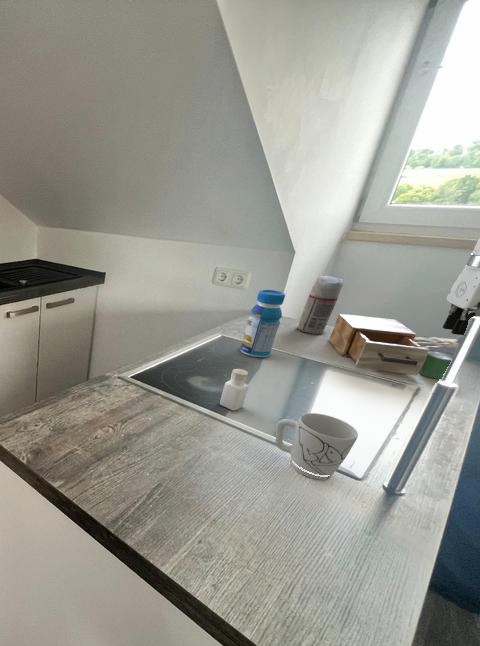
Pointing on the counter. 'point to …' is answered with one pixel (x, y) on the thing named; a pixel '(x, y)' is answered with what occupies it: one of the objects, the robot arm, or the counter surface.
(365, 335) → the drawer
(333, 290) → the spray can
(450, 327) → the robot arm
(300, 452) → the mug
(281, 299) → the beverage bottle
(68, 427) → the counter surface
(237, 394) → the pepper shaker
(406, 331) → the cabinet
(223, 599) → the counter surface
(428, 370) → the tin can
